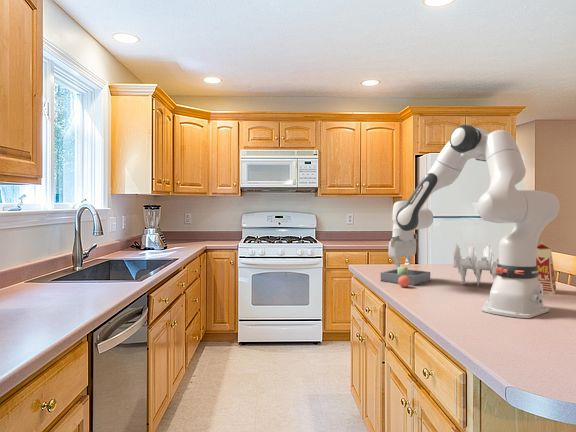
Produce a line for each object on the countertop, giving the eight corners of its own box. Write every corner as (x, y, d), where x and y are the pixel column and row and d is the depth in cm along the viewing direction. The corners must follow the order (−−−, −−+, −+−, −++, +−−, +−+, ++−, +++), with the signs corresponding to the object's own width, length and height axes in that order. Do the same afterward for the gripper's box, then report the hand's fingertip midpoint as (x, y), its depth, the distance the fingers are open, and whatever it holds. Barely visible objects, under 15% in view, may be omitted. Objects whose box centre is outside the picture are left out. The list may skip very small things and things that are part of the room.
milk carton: (554, 294, 159) (555, 242, 158) (526, 291, 165) (527, 240, 164) (556, 290, 166) (557, 240, 166) (530, 287, 172) (530, 239, 171)
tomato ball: (406, 288, 170) (406, 276, 170) (395, 287, 173) (396, 275, 173) (412, 286, 174) (412, 275, 173) (401, 285, 177) (401, 274, 177)
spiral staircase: (518, 299, 168) (452, 291, 177) (512, 274, 183) (452, 268, 191) (525, 261, 160) (455, 255, 168) (518, 238, 175) (455, 234, 183)
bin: (414, 285, 176) (414, 276, 176) (380, 281, 187) (380, 272, 187) (430, 280, 187) (430, 271, 187) (398, 276, 198) (398, 268, 198)
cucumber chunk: (404, 280, 186) (404, 268, 186) (395, 278, 189) (395, 267, 189) (409, 278, 189) (409, 267, 189) (400, 277, 192) (400, 266, 192)
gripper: (397, 237, 178) (397, 269, 179) (418, 235, 194) (418, 264, 194) (384, 236, 183) (384, 268, 183) (406, 234, 198) (406, 263, 198)
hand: (402, 266), depth 188 cm, fingers open, 8 cm apart
